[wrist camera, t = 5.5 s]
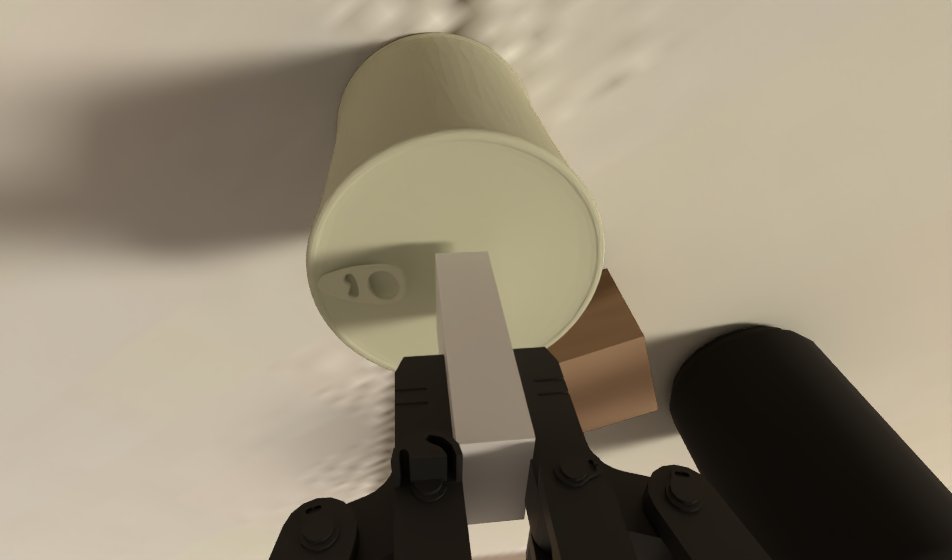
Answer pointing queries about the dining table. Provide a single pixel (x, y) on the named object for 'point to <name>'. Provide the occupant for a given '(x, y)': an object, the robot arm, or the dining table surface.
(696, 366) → the coffee jar
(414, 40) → the can
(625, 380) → the walnut block
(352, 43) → the dining table surface
